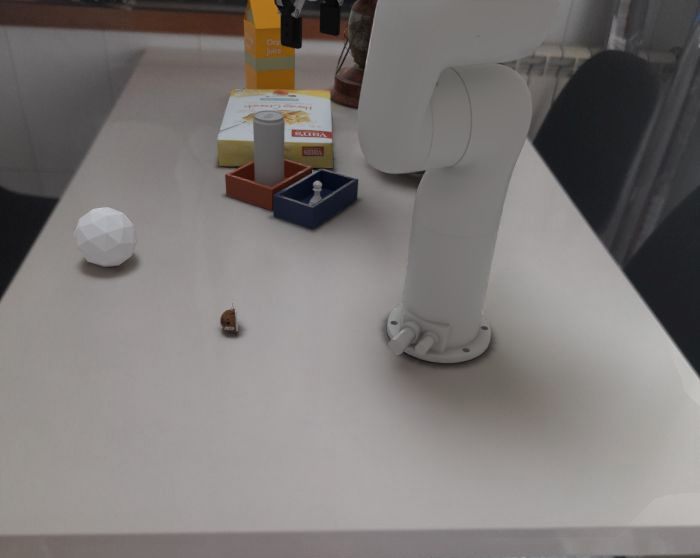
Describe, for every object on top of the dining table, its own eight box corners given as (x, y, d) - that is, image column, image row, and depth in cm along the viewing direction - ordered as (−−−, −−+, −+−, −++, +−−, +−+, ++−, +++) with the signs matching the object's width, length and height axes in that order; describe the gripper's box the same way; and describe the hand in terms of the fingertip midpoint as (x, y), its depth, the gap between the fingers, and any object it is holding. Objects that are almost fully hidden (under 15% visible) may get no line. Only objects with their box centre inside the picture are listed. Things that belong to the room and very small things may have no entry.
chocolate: (222, 322, 87) (220, 294, 85) (240, 322, 87) (239, 294, 85) (218, 336, 85) (217, 308, 82) (237, 336, 85) (236, 308, 83)
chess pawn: (325, 203, 114) (326, 179, 112) (324, 208, 112) (325, 184, 110) (309, 202, 114) (309, 178, 112) (308, 207, 112) (308, 183, 110)
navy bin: (312, 229, 108) (312, 207, 106) (273, 216, 111) (273, 195, 108) (357, 199, 117) (358, 179, 115) (320, 188, 120) (320, 167, 118)
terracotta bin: (272, 210, 112) (272, 189, 110) (226, 195, 116) (224, 174, 114) (312, 187, 120) (312, 166, 118) (267, 173, 124) (267, 153, 121)
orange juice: (245, 89, 160) (242, -10, 148) (282, 86, 163) (282, -11, 151) (256, 100, 154) (254, -2, 143) (295, 96, 158) (296, -3, 146)
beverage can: (249, 189, 117) (246, 116, 109) (265, 179, 120) (264, 107, 113) (274, 196, 115) (273, 122, 108) (290, 186, 118) (290, 114, 111)
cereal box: (330, 88, 145) (335, 139, 122) (329, 116, 148) (334, 170, 126) (229, 86, 144) (215, 137, 121) (231, 114, 147) (218, 168, 125)
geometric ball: (127, 274, 100) (158, 231, 97) (93, 283, 92) (126, 236, 90) (87, 237, 100) (117, 193, 97) (51, 243, 93) (82, 195, 90)
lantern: (330, 80, 169) (335, -66, 151) (410, 86, 169) (425, -60, 151) (324, 106, 153) (329, -53, 136) (413, 112, 153) (429, -46, 136)
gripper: (299, -95, 84) (298, 57, 94) (372, -102, 96) (364, 34, 107) (248, -101, 87) (252, 47, 97) (325, -107, 99) (322, 25, 109)
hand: (311, 40), depth 102 cm, fingers open, 9 cm apart
